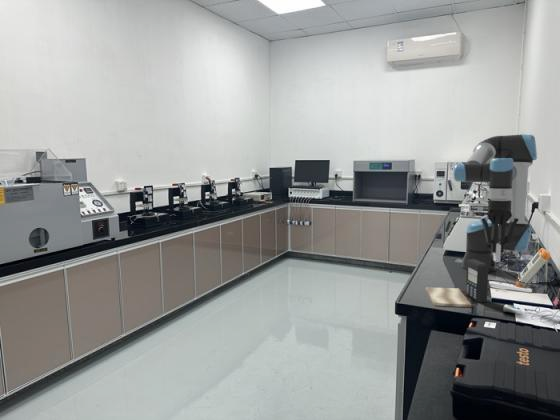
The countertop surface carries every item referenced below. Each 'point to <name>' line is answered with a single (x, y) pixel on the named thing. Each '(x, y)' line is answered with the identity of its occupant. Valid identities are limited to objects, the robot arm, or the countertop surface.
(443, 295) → the birch board
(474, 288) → the card reader
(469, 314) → the countertop surface
